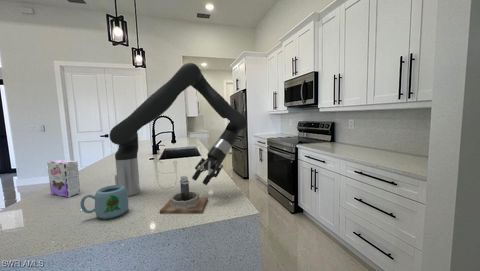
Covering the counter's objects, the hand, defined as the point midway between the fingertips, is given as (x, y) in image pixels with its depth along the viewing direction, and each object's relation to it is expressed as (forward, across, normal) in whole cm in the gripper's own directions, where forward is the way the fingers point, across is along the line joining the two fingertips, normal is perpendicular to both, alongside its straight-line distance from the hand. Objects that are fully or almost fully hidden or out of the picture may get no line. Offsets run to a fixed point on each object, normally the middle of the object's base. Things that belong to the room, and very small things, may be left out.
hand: (198, 181), depth 88 cm
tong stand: (+11, 0, +2) cm, 11 cm away
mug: (+28, -15, -16) cm, 36 cm away
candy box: (+35, -56, -23) cm, 70 cm away
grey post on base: (+10, 0, +1) cm, 10 cm away
